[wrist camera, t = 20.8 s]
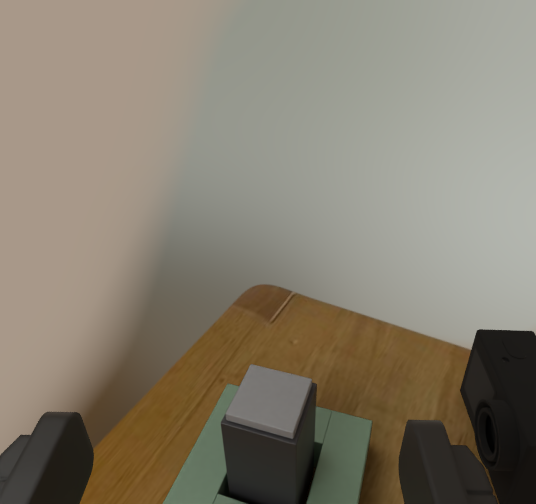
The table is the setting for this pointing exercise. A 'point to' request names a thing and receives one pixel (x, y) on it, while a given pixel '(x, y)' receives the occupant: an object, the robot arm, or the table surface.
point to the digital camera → (504, 410)
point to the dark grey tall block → (270, 437)
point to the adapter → (325, 460)
